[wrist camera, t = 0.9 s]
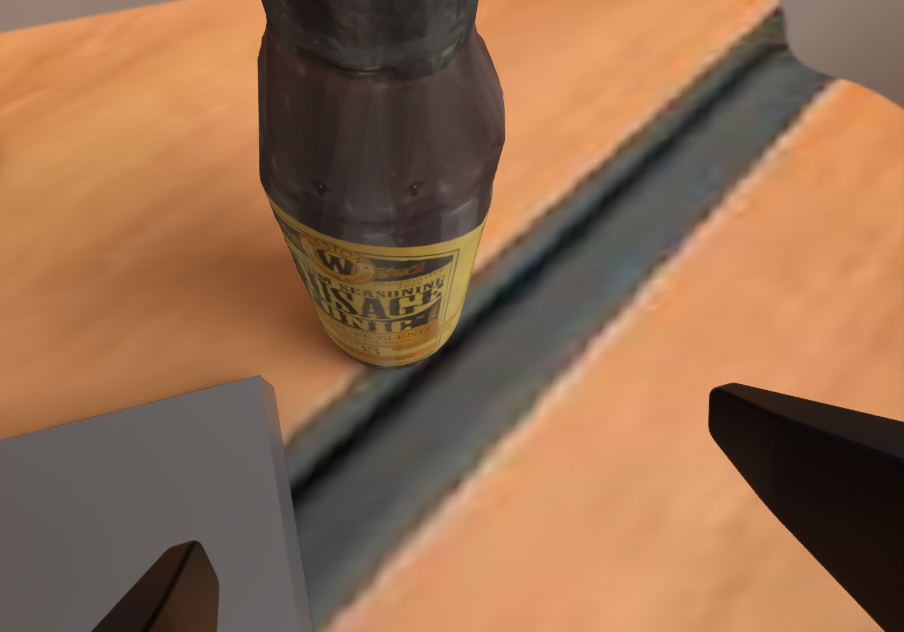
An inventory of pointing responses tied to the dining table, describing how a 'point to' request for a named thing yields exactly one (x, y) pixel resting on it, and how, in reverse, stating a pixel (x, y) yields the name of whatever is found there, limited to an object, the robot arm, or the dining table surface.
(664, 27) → the dining table surface
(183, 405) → the stand
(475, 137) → the sauce bottle
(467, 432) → the dining table surface
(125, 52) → the dining table surface
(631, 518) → the dining table surface
